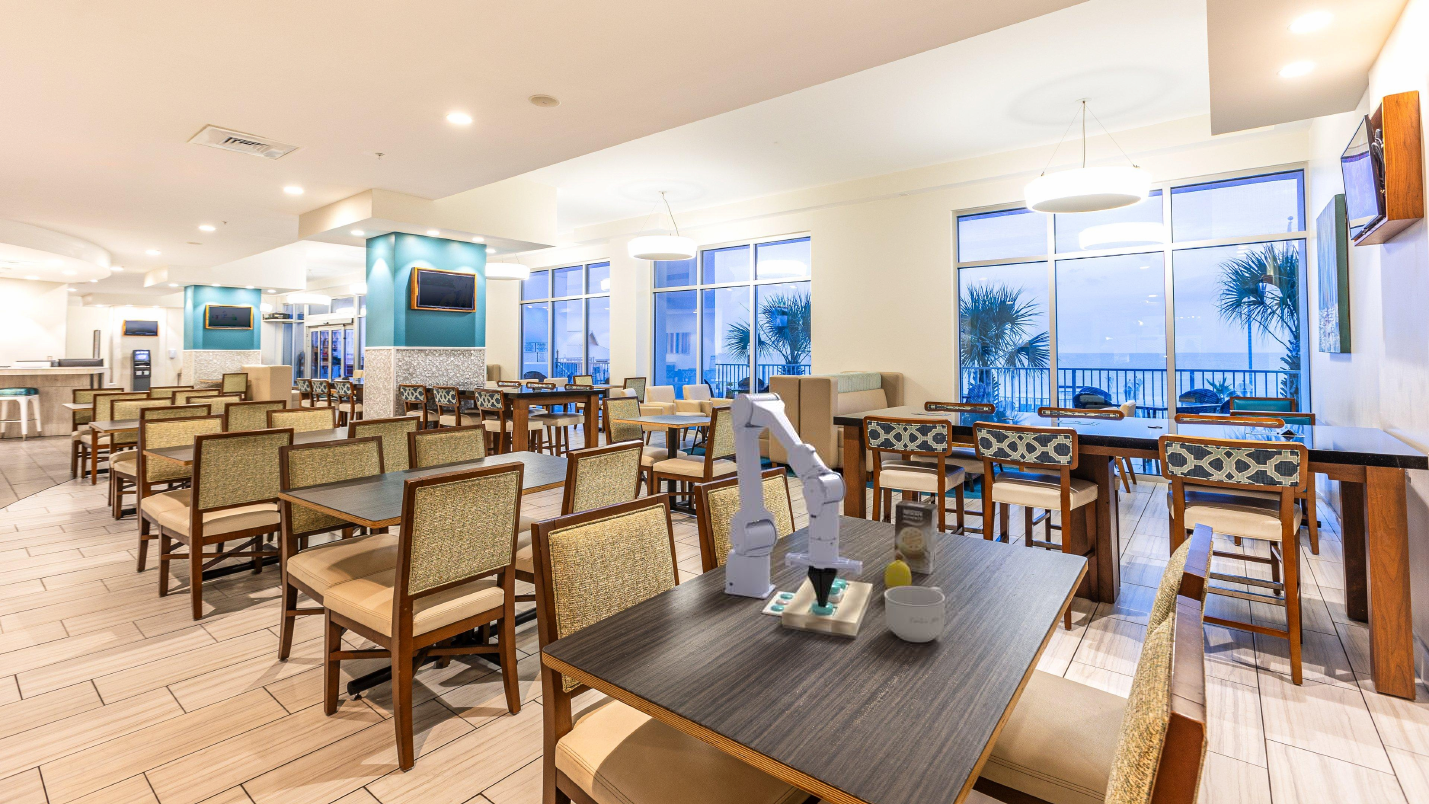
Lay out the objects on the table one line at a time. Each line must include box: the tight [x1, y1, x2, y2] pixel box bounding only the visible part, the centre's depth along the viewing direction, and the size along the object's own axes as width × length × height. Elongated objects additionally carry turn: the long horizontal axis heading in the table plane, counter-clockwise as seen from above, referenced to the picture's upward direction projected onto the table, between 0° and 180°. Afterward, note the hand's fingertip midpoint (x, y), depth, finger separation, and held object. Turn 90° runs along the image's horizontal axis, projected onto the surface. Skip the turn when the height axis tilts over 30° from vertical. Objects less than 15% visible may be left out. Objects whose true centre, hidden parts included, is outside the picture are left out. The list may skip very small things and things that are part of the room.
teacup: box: [883, 585, 946, 643], centre depth 118 cm, size 14×11×8 cm
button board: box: [781, 576, 874, 640], centre depth 128 cm, size 14×22×3 cm, turn 158°
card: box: [762, 591, 796, 617], centre depth 132 cm, size 5×12×1 cm, turn 158°
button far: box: [833, 577, 849, 591], centre depth 135 cm, size 4×4×3 cm
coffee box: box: [893, 499, 939, 575], centre depth 155 cm, size 9×6×16 cm
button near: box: [810, 601, 836, 616], centre depth 122 cm, size 4×4×3 cm
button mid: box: [828, 582, 843, 603], centre depth 128 cm, size 4×4×3 cm
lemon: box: [884, 560, 912, 590], centre depth 137 cm, size 6×6×8 cm
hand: (822, 605), depth 122 cm, fingers closed, pressing on button near
